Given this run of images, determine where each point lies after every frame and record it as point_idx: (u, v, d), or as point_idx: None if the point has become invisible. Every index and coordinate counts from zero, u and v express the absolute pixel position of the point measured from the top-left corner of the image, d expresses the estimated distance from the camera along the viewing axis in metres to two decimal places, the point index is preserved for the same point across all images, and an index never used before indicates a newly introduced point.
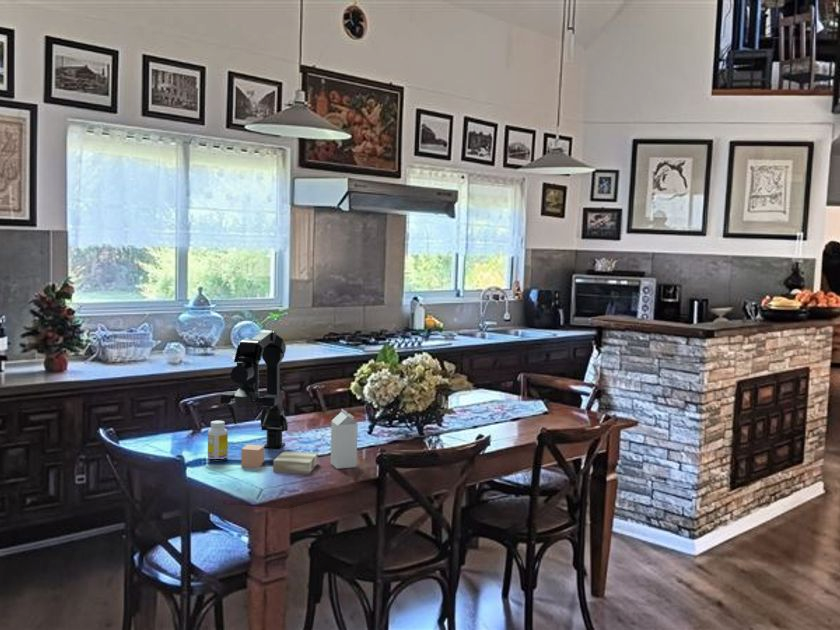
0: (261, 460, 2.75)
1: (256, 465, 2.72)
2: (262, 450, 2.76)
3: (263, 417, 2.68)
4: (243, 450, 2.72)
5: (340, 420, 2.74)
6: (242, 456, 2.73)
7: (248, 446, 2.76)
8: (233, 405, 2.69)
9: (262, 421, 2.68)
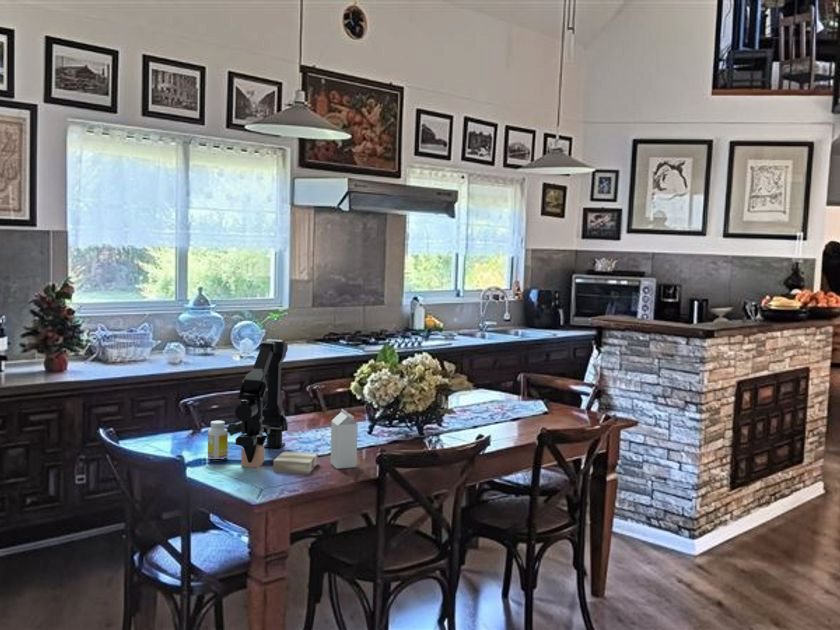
0: (261, 459, 2.75)
1: (256, 465, 2.72)
2: (262, 450, 2.76)
3: None
4: (243, 450, 2.72)
5: (340, 420, 2.74)
6: (242, 456, 2.73)
7: None
8: None
9: None
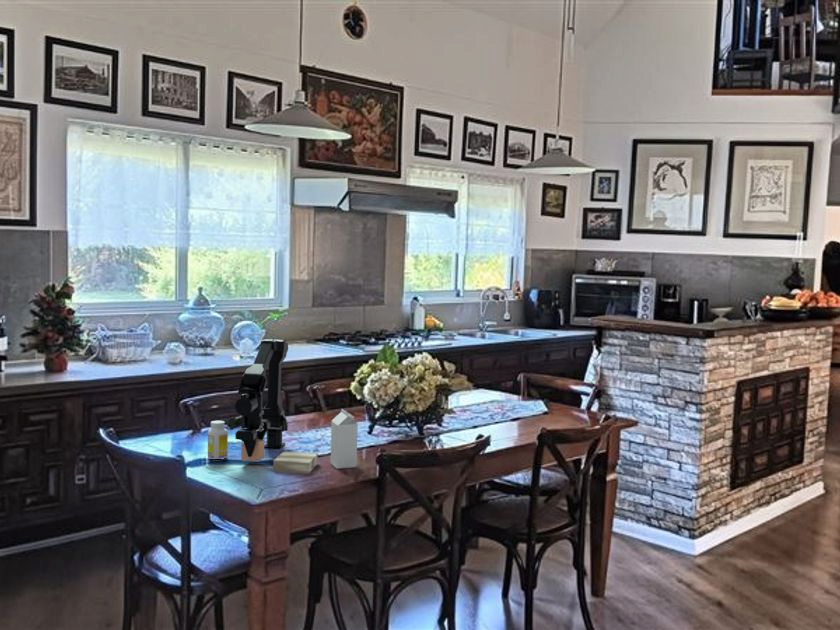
0: (261, 454, 2.75)
1: (256, 459, 2.72)
2: (262, 444, 2.75)
3: None
4: (243, 444, 2.72)
5: (340, 420, 2.74)
6: (242, 450, 2.72)
7: None
8: None
9: None
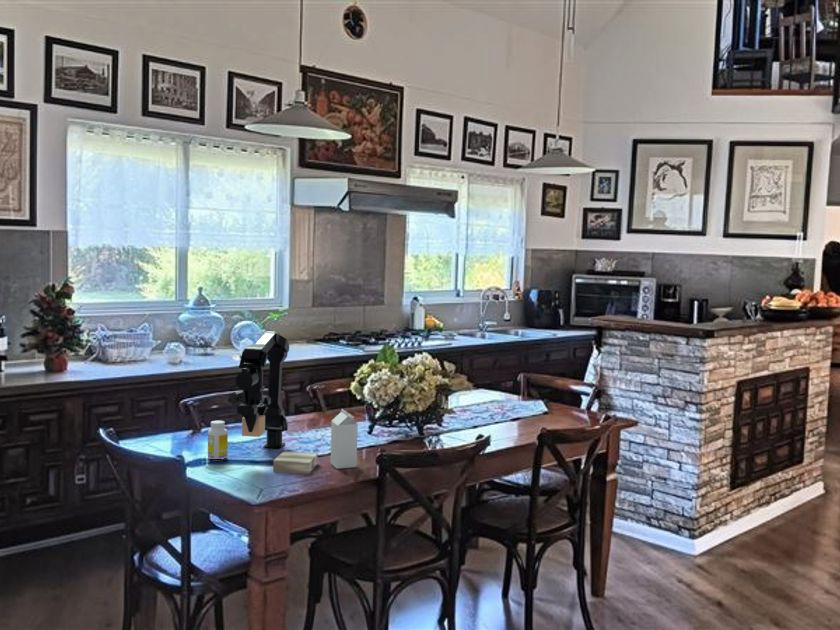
0: (261, 429, 2.74)
1: (257, 434, 2.71)
2: (263, 420, 2.75)
3: None
4: (244, 419, 2.71)
5: (340, 420, 2.74)
6: (243, 425, 2.72)
7: None
8: None
9: None
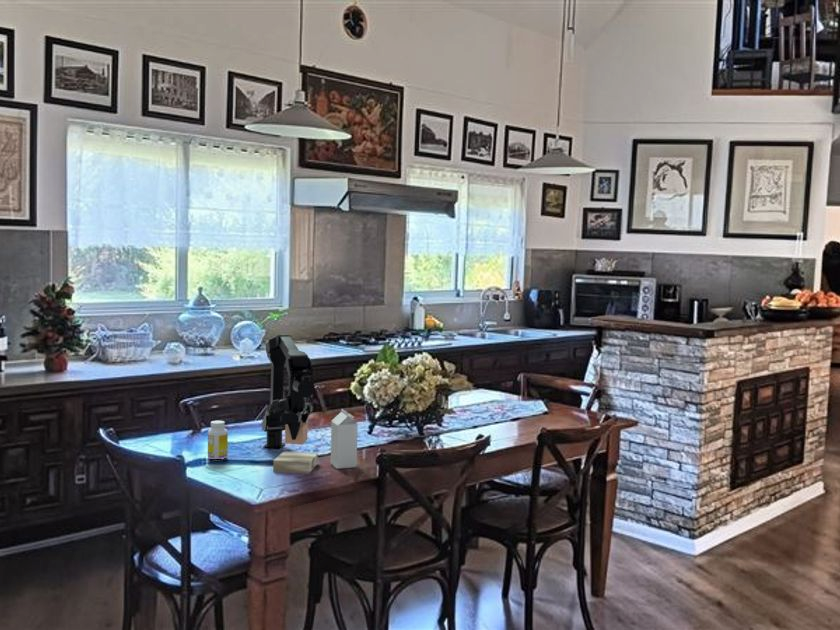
0: (304, 437, 2.72)
1: (300, 442, 2.70)
2: (306, 427, 2.73)
3: None
4: (287, 427, 2.70)
5: (340, 420, 2.74)
6: (286, 433, 2.70)
7: None
8: None
9: None
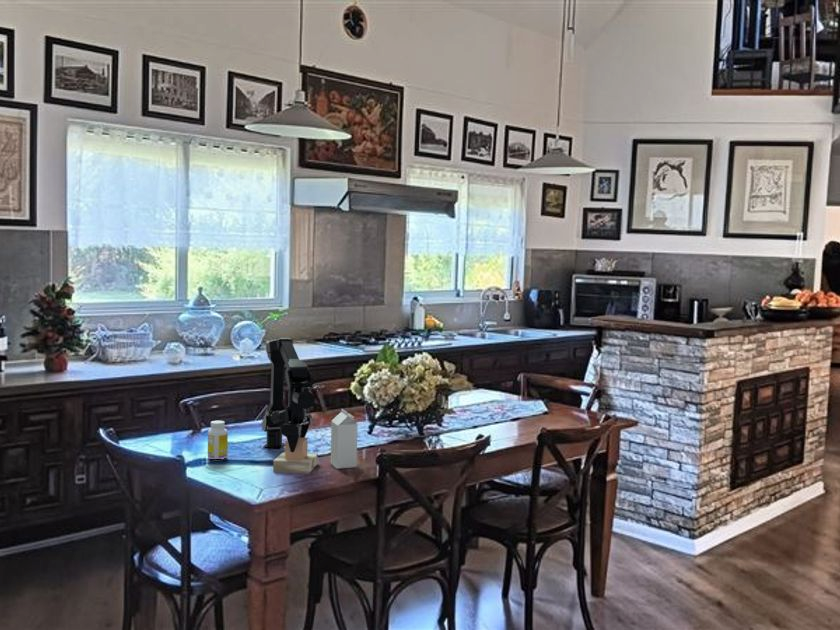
0: (304, 452, 2.73)
1: (300, 457, 2.70)
2: (305, 442, 2.73)
3: None
4: (287, 442, 2.70)
5: (340, 420, 2.74)
6: (286, 448, 2.70)
7: None
8: None
9: None
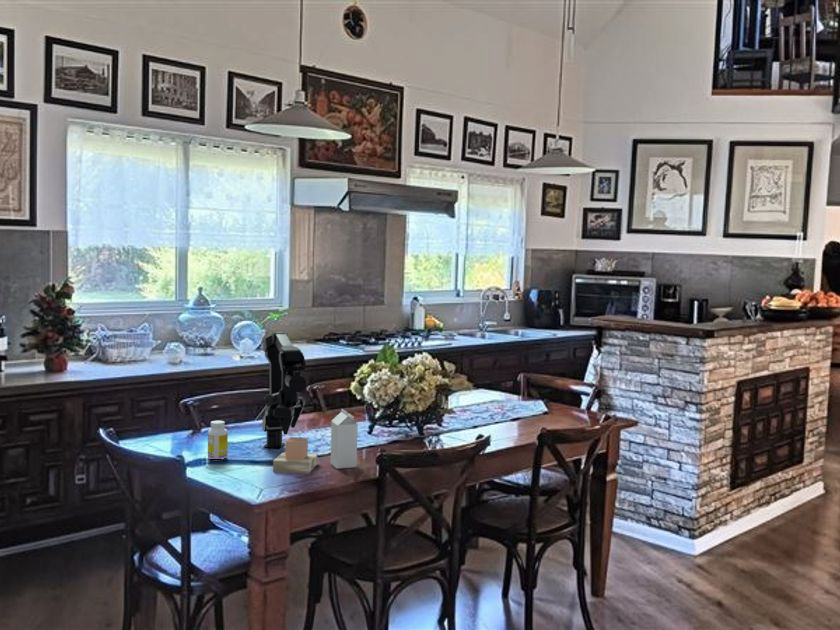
0: (305, 452, 2.73)
1: (300, 458, 2.70)
2: (306, 443, 2.73)
3: None
4: (287, 442, 2.70)
5: (340, 420, 2.74)
6: (286, 449, 2.70)
7: (292, 439, 2.74)
8: None
9: None
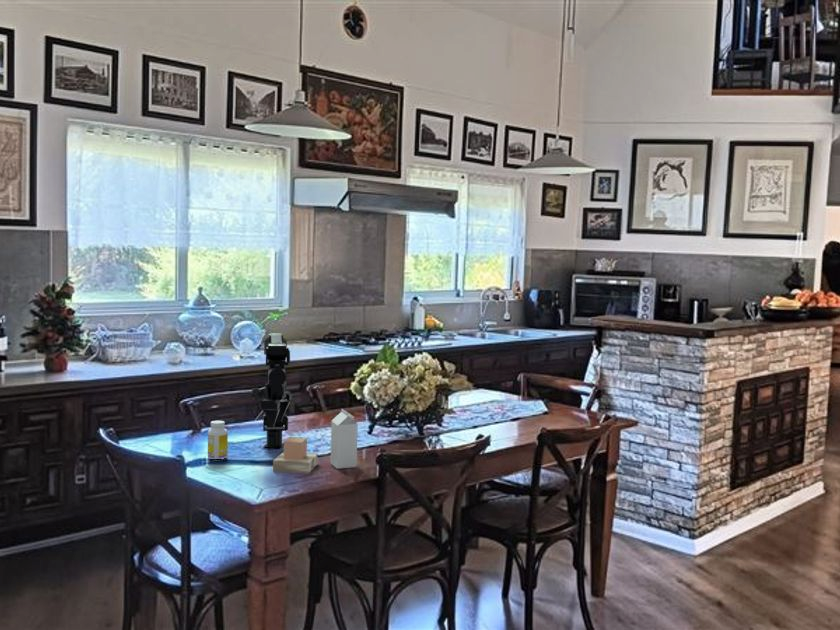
0: (303, 452, 2.73)
1: (299, 457, 2.70)
2: (304, 442, 2.73)
3: None
4: (286, 442, 2.70)
5: (340, 420, 2.74)
6: (285, 448, 2.71)
7: (290, 438, 2.74)
8: None
9: None
